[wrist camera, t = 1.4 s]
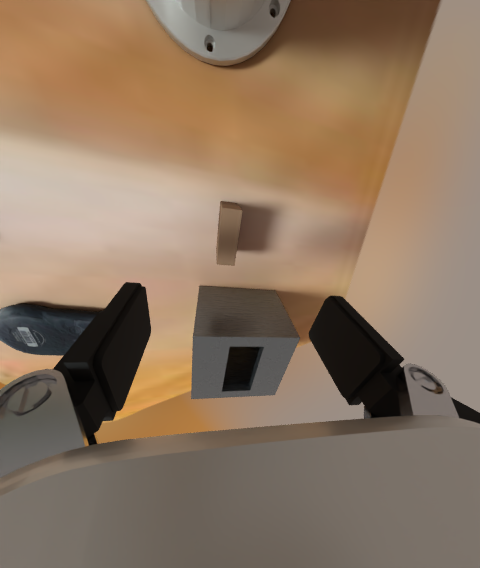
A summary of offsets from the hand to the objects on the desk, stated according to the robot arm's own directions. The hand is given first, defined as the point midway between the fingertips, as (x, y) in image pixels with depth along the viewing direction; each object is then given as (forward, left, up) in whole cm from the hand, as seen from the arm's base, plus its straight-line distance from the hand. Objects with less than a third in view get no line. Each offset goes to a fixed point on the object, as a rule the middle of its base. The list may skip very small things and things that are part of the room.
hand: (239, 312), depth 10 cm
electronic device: (+18, -23, -17) cm, 33 cm away
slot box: (+15, +3, -16) cm, 22 cm away
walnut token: (0, 0, -16) cm, 16 cm away
